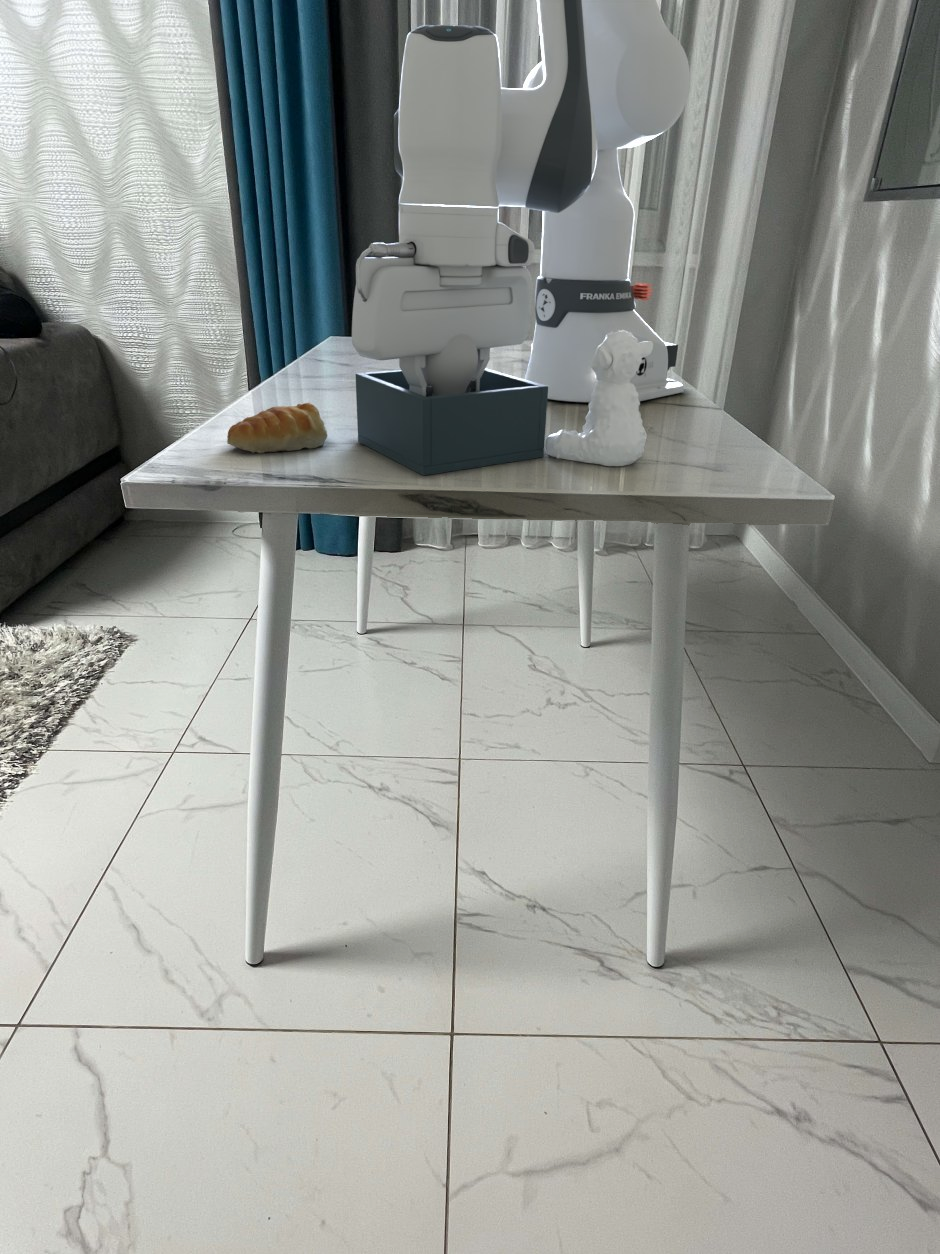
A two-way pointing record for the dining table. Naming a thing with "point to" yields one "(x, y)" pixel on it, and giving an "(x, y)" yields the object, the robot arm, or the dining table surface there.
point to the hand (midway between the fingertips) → (445, 399)
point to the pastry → (279, 429)
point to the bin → (451, 422)
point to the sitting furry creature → (609, 408)
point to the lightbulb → (452, 366)
